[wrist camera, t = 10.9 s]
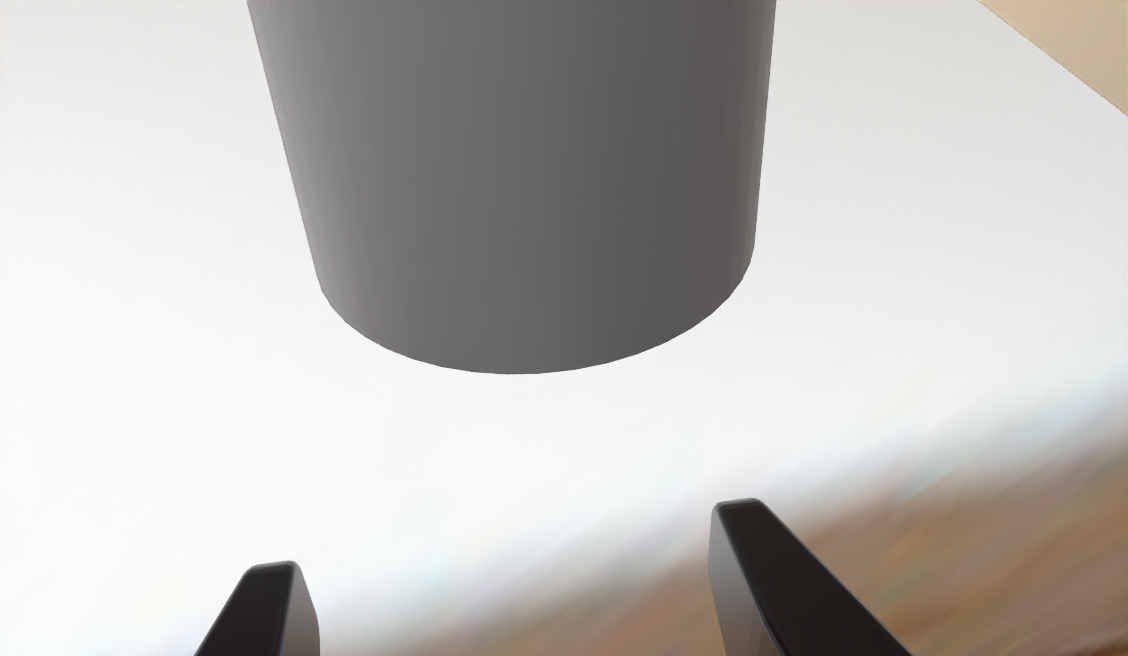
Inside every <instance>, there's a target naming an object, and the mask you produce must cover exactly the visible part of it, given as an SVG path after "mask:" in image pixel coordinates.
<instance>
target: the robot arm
mask: <svg viewBox="0 0 1128 656" xmlns="http://www.w3.org/2000/svg"><path fill="white" fill-rule="evenodd" d="M708 567H709V576H710V582H711V587H712V592H713V596H714V601H715V605H716V610H717V614H718V619H719V623H720V628H721V633H722V637H723V642H724V646H725V651H726V655H727V656H914V655H913V654H912V653H911V652H910V651H909V650H908V649H907V648H906V647H905V646H904V645H903V644H902V643H901V642H900V641H899V640H898V639H897V638H896V637H895V636H894V635H893V634H892V633H891V632H890V630H889V629H888V628H887V627H886V626H885V625H884V624H883V623H882V622H881V621H880V620H879V619H878V618H877V617H876V616H875V615H874V614H873V613H872V612H871V611H870V610H869V609H868V608H867V607H866V606H865V605H864V604H863V603H862V602H861V601H860V600H859V599H858V598H857V597H856V596H855V595H854V594H853V593H852V592H851V591H850V590H849V589H848V588H847V587H846V586H845V585H844V584H843V583H842V582H841V581H840V580H839V579H838V578H837V577H836V576H835V575H834V574H833V573H832V572H831V571H830V570H829V569H828V568H827V567H826V565H825V564H824V563H823V562H822V561H821V560H820V559H819V558H818V557H817V556H816V555H815V554H814V553H813V552H812V551H811V550H810V549H809V548H808V547H807V546H806V545H805V544H804V543H803V542H802V541H801V540H800V539H799V538H798V537H797V536H796V535H795V534H794V533H793V532H792V531H791V530H790V529H789V528H788V527H787V526H786V525H785V524H784V523H783V522H782V521H781V520H780V519H779V518H778V517H777V516H776V515H775V514H774V513H773V512H772V511H771V510H770V509H769V508H768V507H767V506H766V505H765V504H764V503H763V502H762V501H760V500H758V499H756V498H745V499H738V500H730V501H723V502H719V503H717V504H716V505H715V506H714V508H713V510H712V515H711V528H710V541H709V554H708ZM194 656H320V637H319V627H318V620H317V615H316V612H315V609H314V606H313V603H312V600H311V597H310V594H309V591H308V588H307V585H306V582H305V580H304V577H303V574H302V571H301V568H300V567H299V565H298V564H297V563H296V562H294V561H281V562H274V563H266V564H259V565H255V566H252V567H251V568H249V569H248V570H247V571H246V572H245V573H244V575H243V576H242V578H241V579H240V581H239V583H238V584H237V586H236V588H235V589H234V591H233V593H232V594H231V596H230V597H229V599H228V601H227V602H226V604H225V606H224V607H223V609H222V611H221V612H220V614H219V615H218V617H217V619H216V620H215V622H214V624H213V625H212V627H211V629H210V630H209V632H208V633H207V635H206V637H205V638H204V640H203V642H202V643H201V645H200V647H199V648H198V650H197V651H196V653H195V655H194Z"/></svg>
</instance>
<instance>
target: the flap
mask: <svg viewBox="0 0 1128 656" xmlns="http://www.w3.org/2000/svg"><path fill="white" fill-rule="evenodd" d="M977 1H979V2H980V3H981V4H982V5H984V6H985V7H986V8H988V9H989V10H990V11H992V12H993V13H994V14H996V15H997V16H998V17H999V18H1001V19H1002V20H1003V21H1005V22H1006V23H1007V24H1009V25H1010V26H1011V27H1012V28H1014V29H1015V30H1016V31H1018V32H1019V33H1020V34H1022V35H1023V36H1024V37H1025V38H1027V39H1028V40H1029V41H1031V42H1032V43H1033V44H1035V45H1036V46H1037V47H1038V48H1040V49H1041V50H1042V51H1044V52H1045V53H1046V54H1048V55H1049V56H1050V57H1051V58H1053V59H1054V60H1055V61H1057V62H1058V63H1059V64H1061V65H1062V66H1063V67H1064V68H1066V69H1067V70H1068V71H1070V72H1071V73H1072V74H1074V75H1075V76H1076V77H1077V78H1079V79H1080V80H1081V81H1083V82H1084V83H1085V84H1087V85H1088V86H1089V87H1090V88H1092V89H1093V90H1094V91H1096V92H1097V93H1098V94H1100V95H1101V96H1102V97H1103V98H1105V99H1106V100H1107V101H1109V102H1110V103H1111V104H1113V105H1114V106H1115V107H1116V108H1118V109H1119V110H1120V111H1122V112H1123V113H1124V114H1126V115H1127V116H1128V0H977ZM247 4H248V8H249V12H250V16H251V20H252V23H253V27H254V31H255V35H256V39H257V43H258V47H259V51H260V55H261V59H262V63H263V67H264V71H265V74H266V78H267V82H268V86H269V90H270V94H271V98H272V102H273V106H274V110H275V114H276V118H277V121H278V125H279V129H280V133H281V137H282V141H283V145H284V149H285V153H286V157H287V161H288V165H289V169H290V172H291V176H292V180H293V184H294V188H295V192H296V196H297V200H298V204H299V208H300V212H301V216H302V220H303V223H304V227H305V231H306V235H307V239H308V243H309V247H310V251H311V255H312V259H313V263H314V267H315V271H316V274H317V277H318V280H319V283H320V286H321V289H322V292H323V293H324V295H325V297H326V298H327V300H328V301H329V303H330V305H331V306H332V308H333V309H334V310H335V311H336V312H337V313H338V314H339V315H340V316H341V317H342V319H343V320H344V321H345V322H346V323H347V324H349V325H350V326H351V327H353V328H354V329H355V330H357V331H358V332H359V333H361V334H362V335H363V336H365V337H366V338H368V339H370V340H372V341H374V342H375V343H377V344H379V345H381V346H383V347H384V348H386V349H389V350H391V351H394V352H396V353H399V354H401V355H404V356H406V357H409V358H411V359H414V360H418V361H422V362H426V363H429V364H433V365H437V366H440V367H446V368H452V369H458V370H464V371H470V372H480V373H495V374H541V373H550V372H559V371H568V370H576V369H581V368H586V367H591V366H595V365H600V364H605V363H609V362H613V361H616V360H619V359H623V358H626V357H629V356H633V355H636V354H639V353H641V352H644V351H646V350H649V349H651V348H653V347H656V346H658V345H661V344H663V343H665V342H667V341H669V340H671V339H673V338H675V337H677V336H678V335H680V334H682V333H684V332H686V331H688V330H689V329H691V328H693V327H694V326H695V325H697V324H698V323H699V322H701V321H702V320H704V319H705V318H706V317H708V316H709V315H711V314H712V313H713V312H714V311H715V310H716V309H717V308H718V307H719V306H720V305H721V304H722V303H723V302H725V301H726V300H727V299H728V298H729V297H730V295H731V294H732V293H733V291H734V290H735V289H736V287H737V286H738V285H739V283H740V282H741V281H742V279H743V276H744V274H745V272H746V270H747V268H748V266H749V264H750V261H751V257H752V253H753V249H754V243H755V232H756V221H757V210H758V198H759V187H760V176H761V165H762V154H763V143H764V132H765V121H766V109H767V98H768V87H769V76H770V65H771V54H772V43H773V31H774V20H775V9H776V0H247Z"/></svg>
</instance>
